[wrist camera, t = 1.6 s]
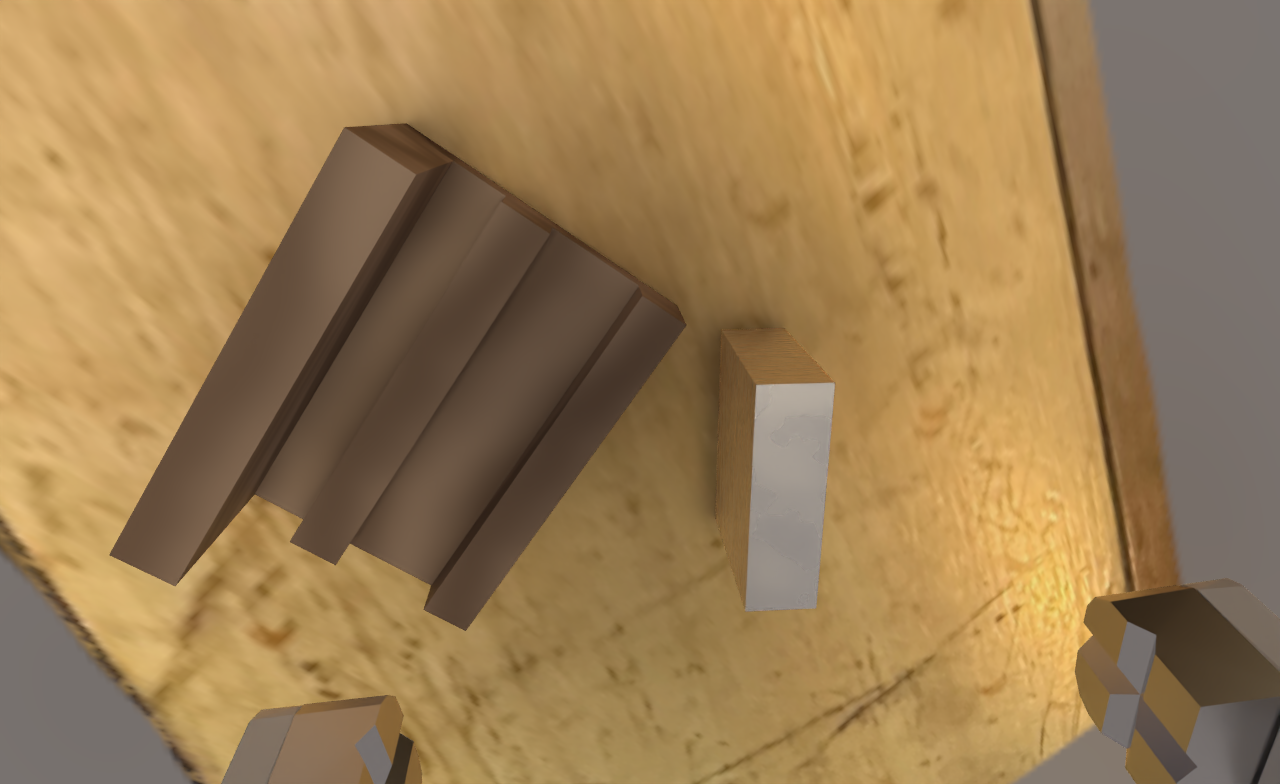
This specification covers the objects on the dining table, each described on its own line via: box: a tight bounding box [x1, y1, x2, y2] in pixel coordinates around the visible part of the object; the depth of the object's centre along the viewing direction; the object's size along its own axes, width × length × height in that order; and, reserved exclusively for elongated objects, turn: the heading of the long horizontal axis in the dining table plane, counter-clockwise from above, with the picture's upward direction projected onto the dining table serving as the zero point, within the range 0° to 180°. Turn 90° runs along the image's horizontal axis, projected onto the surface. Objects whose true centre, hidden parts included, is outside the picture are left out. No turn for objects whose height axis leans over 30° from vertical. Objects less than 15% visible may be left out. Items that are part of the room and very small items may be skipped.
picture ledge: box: [110, 123, 686, 631], centre depth 32 cm, size 14×18×9 cm
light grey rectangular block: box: [715, 328, 835, 611], centre depth 35 cm, size 3×10×8 cm, turn 0°
